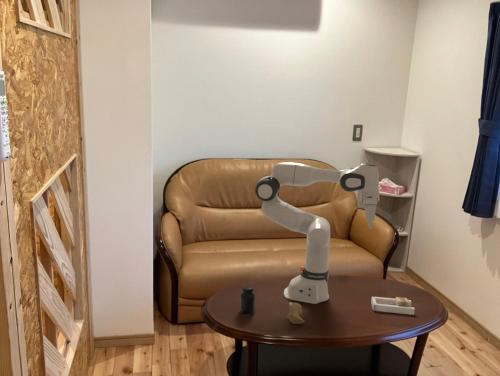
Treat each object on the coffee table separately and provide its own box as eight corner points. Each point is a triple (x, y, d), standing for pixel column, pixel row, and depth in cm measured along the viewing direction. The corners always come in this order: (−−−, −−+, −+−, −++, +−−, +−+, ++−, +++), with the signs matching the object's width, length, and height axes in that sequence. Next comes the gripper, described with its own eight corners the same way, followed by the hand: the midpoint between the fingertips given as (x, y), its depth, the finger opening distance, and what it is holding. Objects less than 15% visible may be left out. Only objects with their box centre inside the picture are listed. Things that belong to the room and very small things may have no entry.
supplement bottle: (247, 307, 214) (248, 283, 212) (257, 312, 209) (258, 287, 207) (236, 311, 209) (237, 286, 207) (246, 316, 204) (248, 291, 202)
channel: (373, 310, 216) (373, 304, 215) (371, 302, 225) (371, 296, 224) (413, 314, 213) (414, 308, 212) (410, 306, 222) (410, 300, 221)
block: (396, 311, 216) (397, 301, 215) (394, 306, 221) (395, 296, 220) (407, 312, 215) (408, 302, 214) (405, 307, 220) (406, 298, 219)
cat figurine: (288, 313, 196) (289, 295, 206) (282, 325, 199) (284, 306, 210) (306, 319, 196) (306, 300, 207) (300, 331, 199) (301, 312, 210)
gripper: (362, 193, 227) (363, 220, 229) (362, 201, 207) (363, 231, 210) (375, 192, 225) (376, 220, 228) (377, 201, 206) (377, 231, 208)
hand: (370, 225), depth 218 cm, fingers open, 8 cm apart
